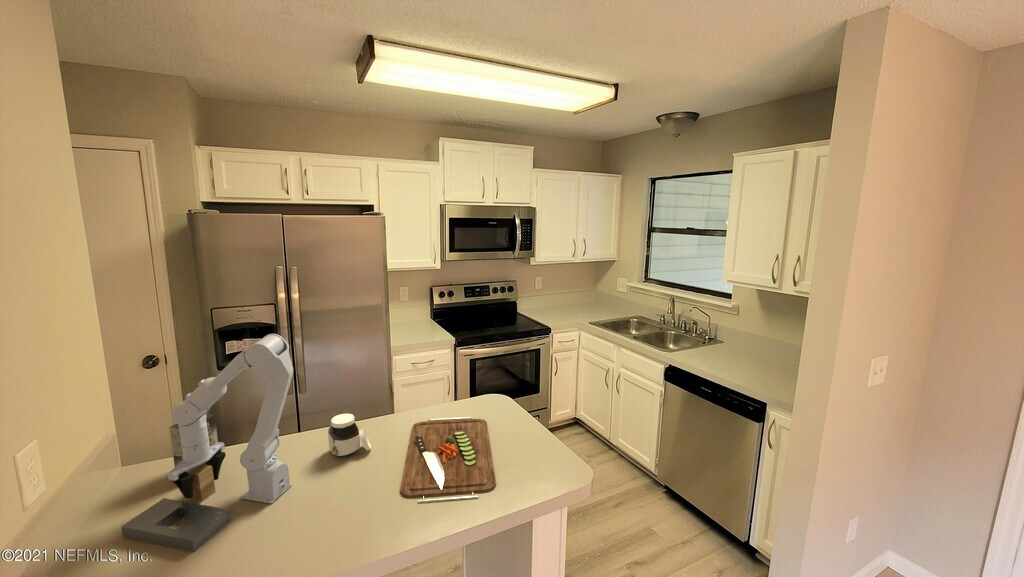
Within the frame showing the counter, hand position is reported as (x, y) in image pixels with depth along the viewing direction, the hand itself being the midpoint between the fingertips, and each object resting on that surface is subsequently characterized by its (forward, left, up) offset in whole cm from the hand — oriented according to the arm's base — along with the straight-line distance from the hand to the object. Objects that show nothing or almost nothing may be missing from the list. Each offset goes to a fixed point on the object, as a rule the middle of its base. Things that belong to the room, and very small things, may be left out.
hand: (201, 487), depth 112 cm
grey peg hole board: (-5, +11, -2) cm, 12 cm away
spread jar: (-27, -28, -3) cm, 39 cm away
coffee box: (+11, -9, -3) cm, 14 cm away
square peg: (0, 0, -2) cm, 2 cm away
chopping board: (-58, -33, -3) cm, 67 cm away
